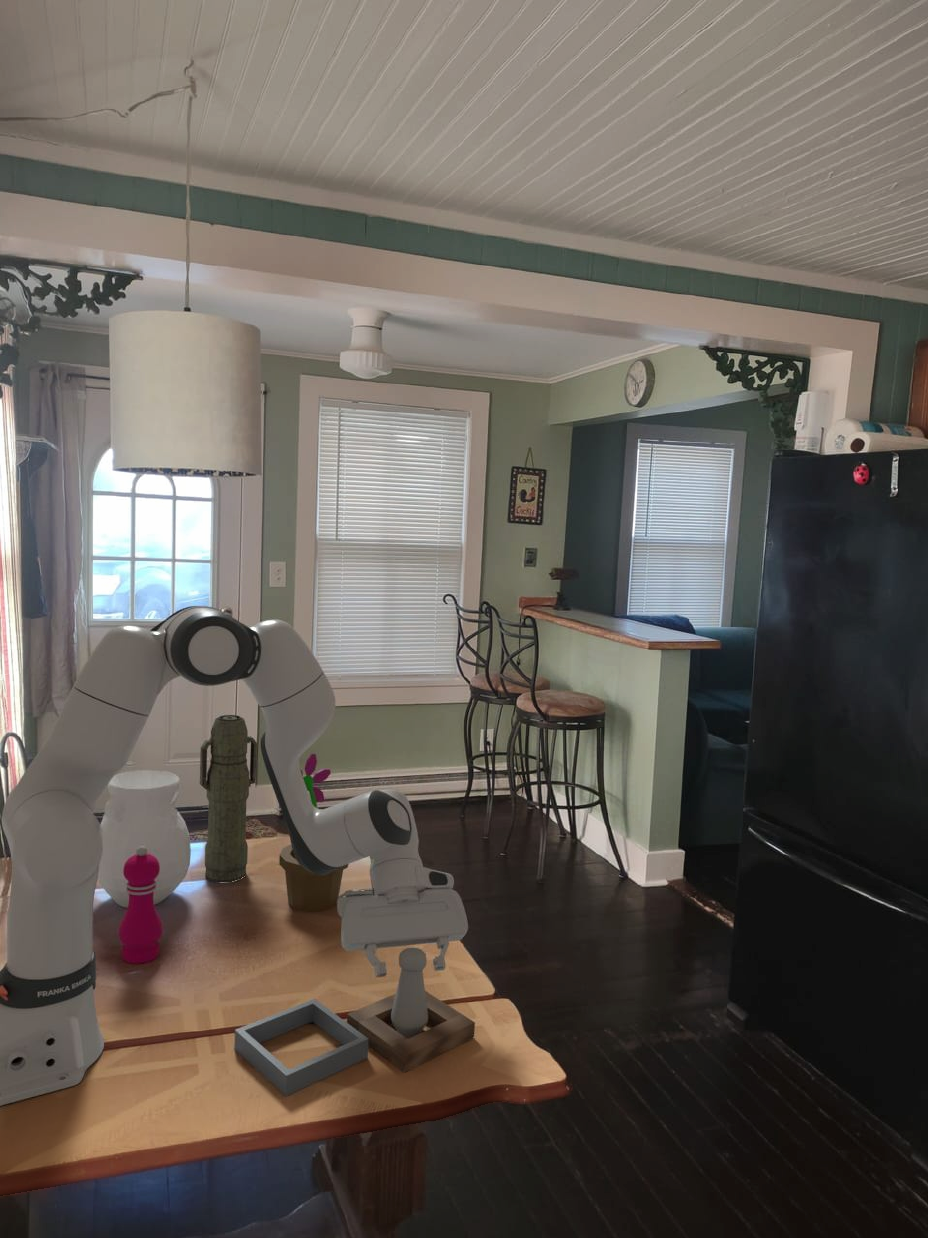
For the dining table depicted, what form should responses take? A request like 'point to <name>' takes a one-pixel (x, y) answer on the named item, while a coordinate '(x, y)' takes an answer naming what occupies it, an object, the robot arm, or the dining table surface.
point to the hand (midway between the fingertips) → (411, 972)
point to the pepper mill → (140, 909)
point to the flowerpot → (301, 883)
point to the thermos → (227, 797)
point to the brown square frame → (419, 1048)
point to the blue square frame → (312, 1069)
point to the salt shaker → (410, 994)
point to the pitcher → (143, 831)
